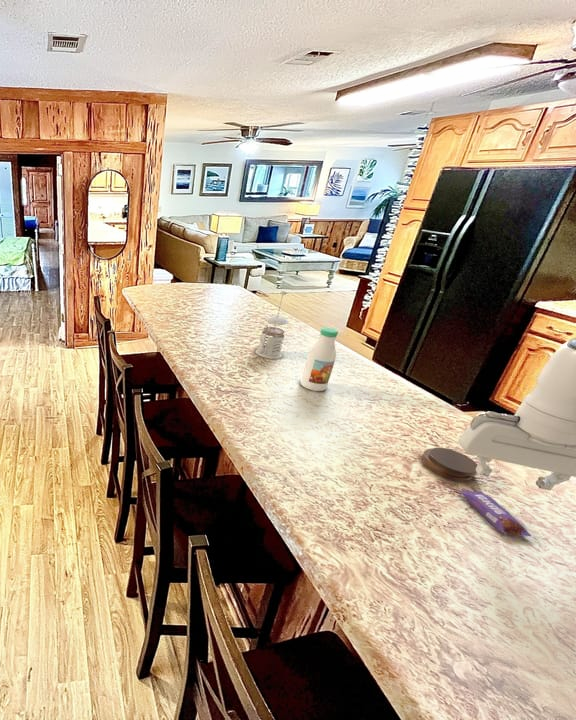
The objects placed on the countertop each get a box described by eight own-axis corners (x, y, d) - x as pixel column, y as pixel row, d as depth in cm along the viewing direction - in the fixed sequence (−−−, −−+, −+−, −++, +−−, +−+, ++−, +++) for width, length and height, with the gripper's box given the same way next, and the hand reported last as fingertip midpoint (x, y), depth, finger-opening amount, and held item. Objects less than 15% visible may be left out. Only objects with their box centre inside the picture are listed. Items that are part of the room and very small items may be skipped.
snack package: (460, 487, 84) (484, 488, 84) (456, 493, 85) (479, 495, 85) (507, 531, 74) (535, 532, 74) (502, 538, 75) (529, 539, 75)
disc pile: (462, 461, 95) (467, 451, 94) (480, 487, 87) (486, 477, 86) (415, 451, 98) (420, 441, 97) (429, 475, 90) (434, 465, 89)
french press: (287, 355, 149) (304, 292, 138) (269, 362, 143) (285, 297, 132) (265, 346, 157) (279, 286, 146) (247, 352, 151) (260, 290, 140)
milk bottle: (296, 385, 128) (312, 329, 119) (304, 377, 133) (320, 323, 124) (322, 394, 123) (340, 336, 114) (328, 385, 128) (347, 329, 119)
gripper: (486, 418, 71) (453, 475, 77) (640, 447, 64) (590, 507, 70) (471, 401, 76) (441, 456, 82) (611, 426, 69) (567, 484, 75)
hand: (511, 480), depth 76 cm, fingers open, 8 cm apart
